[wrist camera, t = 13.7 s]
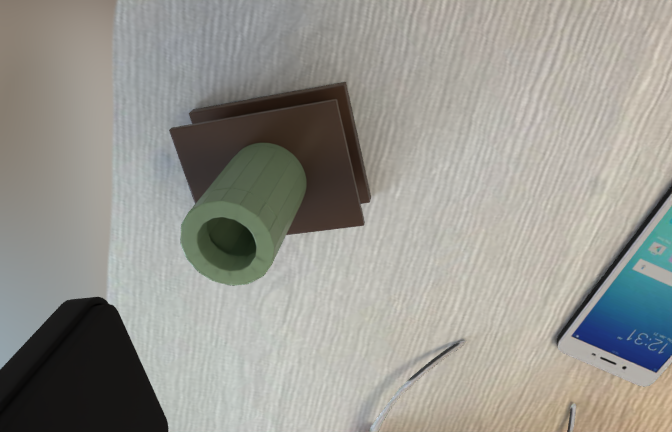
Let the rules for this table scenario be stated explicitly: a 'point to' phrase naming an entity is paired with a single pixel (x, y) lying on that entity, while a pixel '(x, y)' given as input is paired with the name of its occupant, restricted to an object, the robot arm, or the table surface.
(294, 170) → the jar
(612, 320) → the smartphone
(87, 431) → the robot arm
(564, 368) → the table surface
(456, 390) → the table surface
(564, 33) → the table surface
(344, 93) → the stand
